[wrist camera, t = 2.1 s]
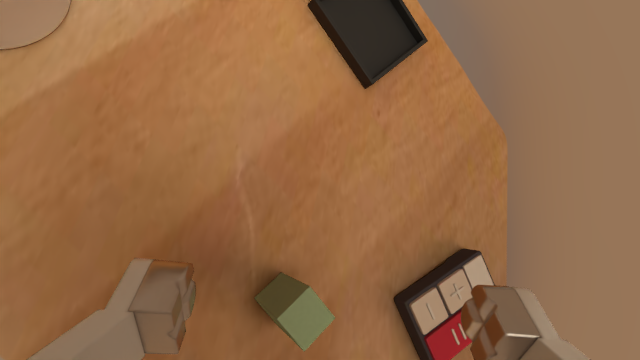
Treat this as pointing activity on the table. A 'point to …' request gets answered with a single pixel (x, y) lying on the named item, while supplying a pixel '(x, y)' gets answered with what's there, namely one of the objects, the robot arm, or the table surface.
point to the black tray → (369, 34)
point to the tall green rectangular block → (295, 309)
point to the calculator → (442, 305)
